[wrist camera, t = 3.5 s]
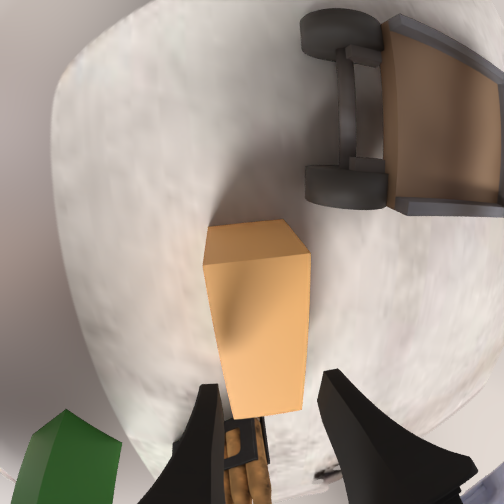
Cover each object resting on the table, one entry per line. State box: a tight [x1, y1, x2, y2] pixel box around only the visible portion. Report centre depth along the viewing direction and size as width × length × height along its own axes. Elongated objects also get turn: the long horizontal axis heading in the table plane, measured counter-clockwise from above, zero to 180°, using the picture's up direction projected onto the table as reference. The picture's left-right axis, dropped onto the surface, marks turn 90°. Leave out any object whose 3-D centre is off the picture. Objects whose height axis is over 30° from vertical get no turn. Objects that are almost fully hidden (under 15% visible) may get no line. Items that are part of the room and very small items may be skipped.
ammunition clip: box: [172, 416, 272, 504], centre depth 16 cm, size 11×2×12 cm, turn 129°
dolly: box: [300, 8, 504, 218], centre depth 11 cm, size 17×9×6 cm, turn 92°
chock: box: [203, 219, 311, 419], centre depth 14 cm, size 4×10×5 cm, turn 4°
